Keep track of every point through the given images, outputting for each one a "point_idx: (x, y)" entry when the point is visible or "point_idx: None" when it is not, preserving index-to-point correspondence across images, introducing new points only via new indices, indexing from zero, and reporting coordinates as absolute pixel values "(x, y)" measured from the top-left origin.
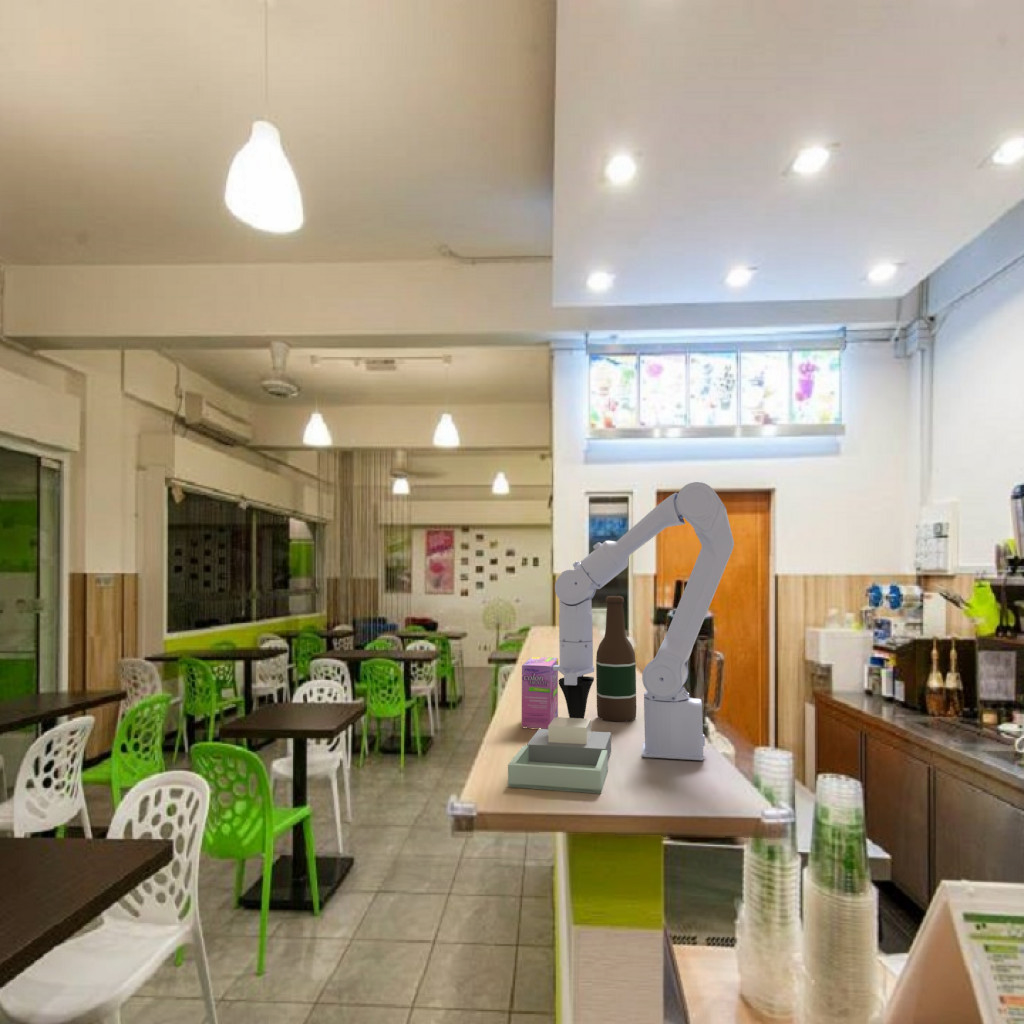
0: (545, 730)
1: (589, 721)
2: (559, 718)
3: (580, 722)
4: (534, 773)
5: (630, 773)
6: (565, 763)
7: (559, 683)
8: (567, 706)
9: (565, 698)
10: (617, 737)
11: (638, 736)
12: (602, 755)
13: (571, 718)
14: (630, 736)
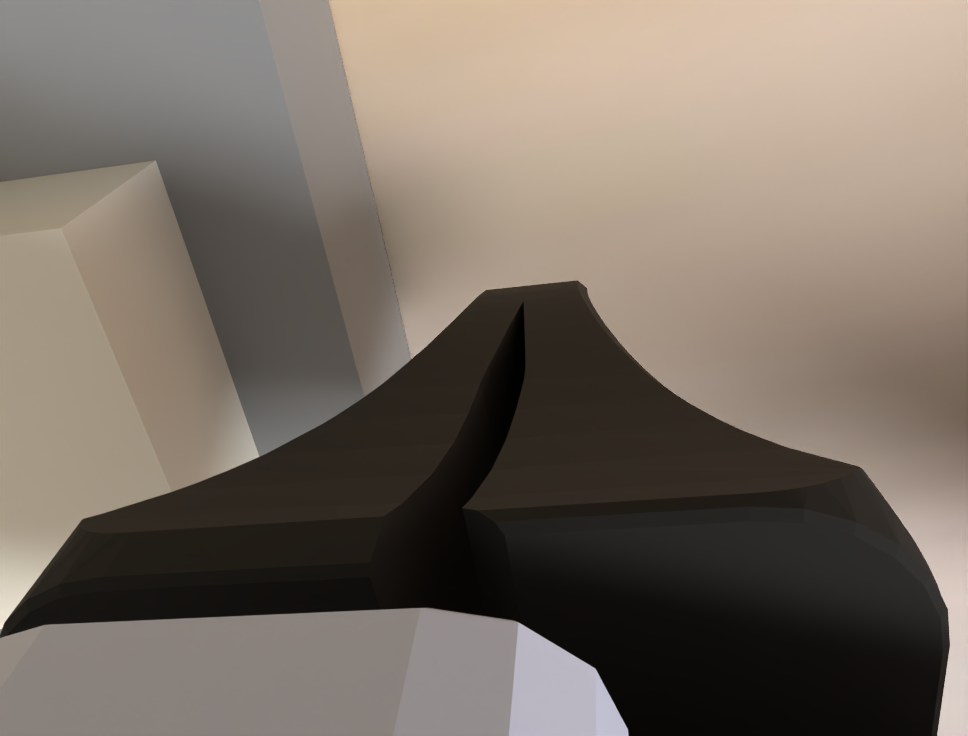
0: (184, 12)
1: None
2: (31, 310)
3: (10, 557)
4: None
5: None
6: None
7: (58, 555)
8: (408, 364)
9: (333, 421)
10: (904, 504)
11: (965, 632)
12: None
13: (124, 440)
14: (956, 584)
